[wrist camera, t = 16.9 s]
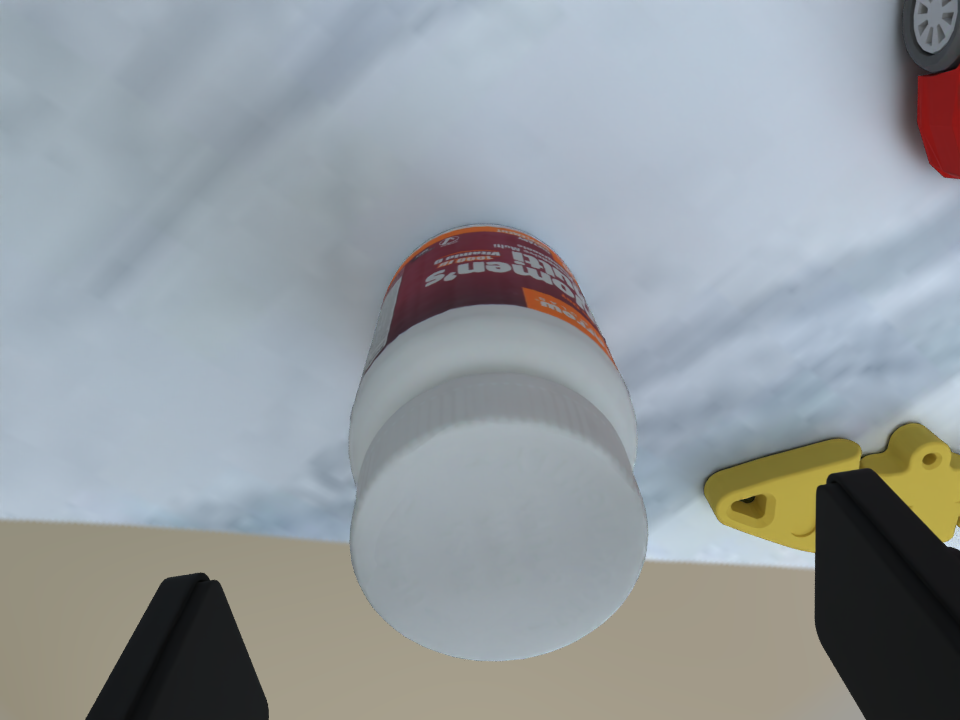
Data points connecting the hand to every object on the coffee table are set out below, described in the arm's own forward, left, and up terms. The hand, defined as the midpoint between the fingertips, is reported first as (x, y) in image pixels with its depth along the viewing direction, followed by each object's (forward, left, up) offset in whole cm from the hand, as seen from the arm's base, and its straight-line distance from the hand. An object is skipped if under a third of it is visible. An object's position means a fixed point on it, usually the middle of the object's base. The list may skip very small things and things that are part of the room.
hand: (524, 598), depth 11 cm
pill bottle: (0, 0, -13) cm, 13 cm away
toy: (+14, -6, -12) cm, 19 cm away
